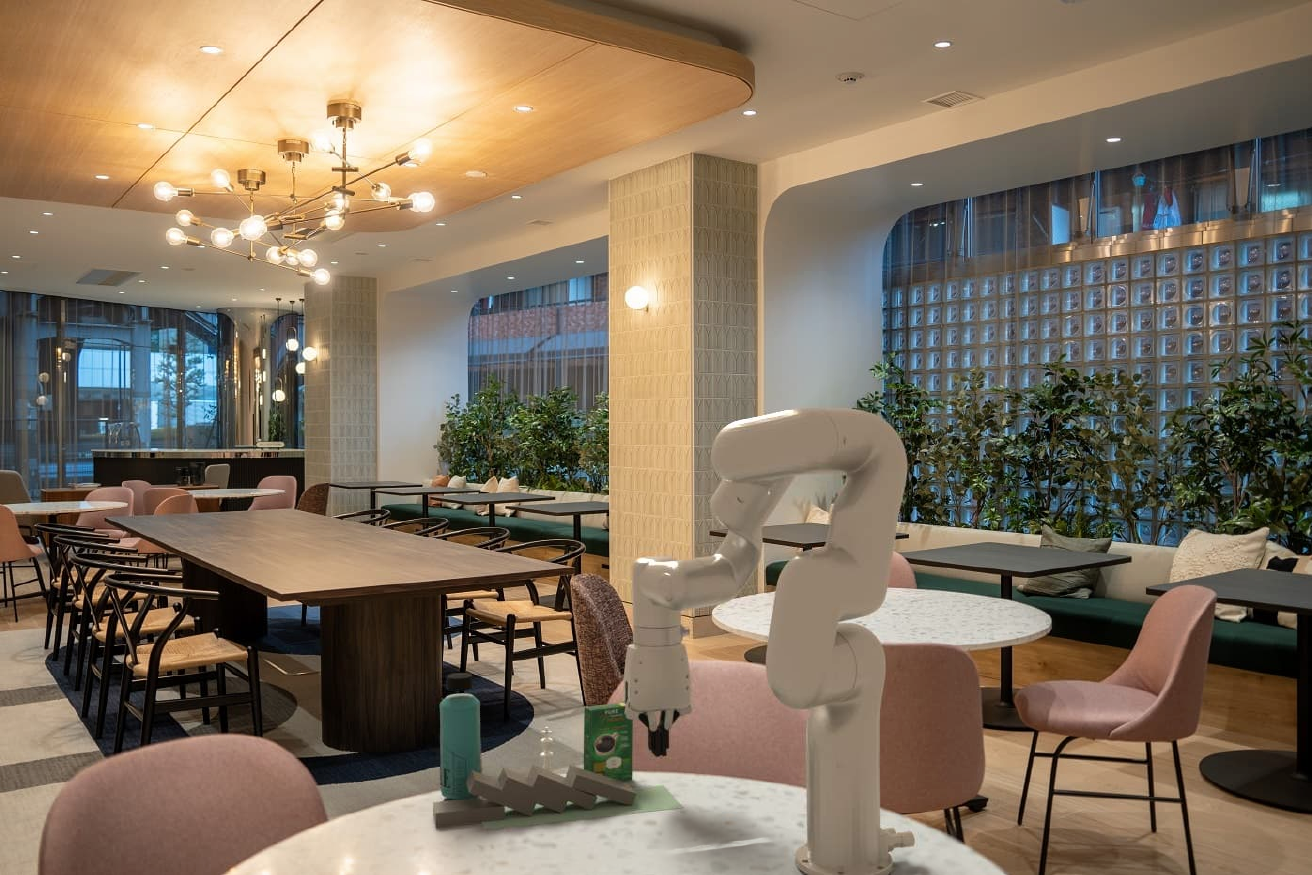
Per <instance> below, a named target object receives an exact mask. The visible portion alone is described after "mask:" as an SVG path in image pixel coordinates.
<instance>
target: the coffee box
mask: <svg viewBox="0 0 1312 875" xmlns="http://www.w3.org/2000/svg"><path fill="white" fill-rule="evenodd" d="M625 707H626V704H625V703H624V701H623V702H616V703H609V704H600V705H590V706H589V705H588V706H584V708H583V709H584V711H583V712H584V714H583V716H584V717H583V719H584V720H583V721H584V724H583V769H584V770H587V771H591V772H594V773H597V774H600V775H603V776H606V777H610V778H613V779H616V780H619V781H622V782H625V783H627V782H631V781H633V775H634V774H633V773H634V772H633V750H634V748H633V745H634V744H633V743H634V742H633V741H634V740H633V738H634V720H631V719H627V718H626V717H625V716H624V712H625Z"/></svg>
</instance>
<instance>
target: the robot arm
mask: <svg viewBox="0 0 1312 875" xmlns="http://www.w3.org/2000/svg"><path fill="white" fill-rule="evenodd" d="M711 447H712V448H711V452H710V458H711V459H710V460H711V463H712V468H713V470H714V472H715V473H716V474H717V475H718V476H719V478H721V479H722V481H720V482H719V484H718V486H717V488H716V489H715V491H714V493H713V494H712V495H711V497H710V502H709V507H710V511H711V514H712V515H713V516H714V518H715V519H716V521H717V522H718V523H719V524H721V525H722V526H723V528H725V529H726V530H728V532H727V533H726V536H725V538H724V539H723V540H722V543H721V544H720V546H719V547H718V549H717V550H716V552H715V553H714V554H713V555H711V556H700V557H693V558H687V559H676V558H674V557H671V556H662V555H660V556H659V555H656V556H655V555H653V556H652V555H651V556H643V557H642V556H641V557H638V558H636V559H635V560H634V562H633V565H632V572H631V577H632V579H631V580H632V639H633V640H632V643H631V644H628V645H627V650H626V656H625V662H624V663H625V664H624V673H623V674H624V675H623V690H622V694H623V695H622V696H623V702H624V703H625V704H626V707H625V712H624V716H625V717H626V718H627V719H631V720H633V721H638V722H641V723H642V724H643V725H644V726H645V727H647V747H648V751H650V753H652V755H654V756H655V758H659V757H661V756H662V757H667V750H668V749H669V748H670V731H671V729H672V727H673V724H675V723H676V721H677V720H678V719H679V718H680V717H685V716H687V715H689V714H691V713H692V711H693V710H692V709H693V708H692V705H691V703H692V681H691V671H690V663H689V657H688V652H687V647H686V644H685V642H683V638H684V637H687V636H690V633H691V629H690V627H689V626H684V625H683V624H682V615H681V614H682V611H689V610H696V609H700V608H705V607H711V606H718V605H719V606H720V605H724V604H726V603H728V602H730V601H732V600H733V599H735V598H736V597H737V596H738V595H739V594H740V592H742V590H743V589H744V588H745V586H746V585H747V583H748V582H749V580H750V579H751V577H752V576H753V574H754V573H755V571H756V570H757V569H758V566H759V563H760V561H761V557H762V552H763V533H762V529H763V527H764V525H765V524H766V522H767V521H768V519H769V518H770V516H771V515H772V513H773V512H774V510H775V508H776V507H777V505H778V504H779V503H780V501H781V500H782V498H783V496H784V495H785V493H786V492H787V491H788V489H789V487H790V486H791V484H792V483H793V481H794V480H795V478H796V477H797V476H805V475H824V474H828V475H829V474H844V475H845V478H846V479H845V482H844V484H843V486H842V487H841V489H840V491H839V492H838V494H837V495H836V496H837V497H836V499H835V500H834V503H833V505H832V510H831V513H830V520H829V529H828V531H827V532H828V533H827V538H826V542H825V544H824V546H822V547H820V548H812V549H807V550H804V551H801V552H799V553H797V554H795V555H794V556H792V558H791V559H790V560H788V562H787V563H786V564H785V566H783V569H782V570H781V572H780V574H779V577H778V580H777V582H776V587H775V592H774V599H773V604H772V605H773V606H772V611H771V612H772V613H771V618H770V619H771V620H770V626H769V632H768V640H767V647H766V656H765V672H766V675H765V676H766V680H767V683H768V686H769V688H770V691H771V693H772V694H773V696H774V697H775V699H776V700H777V701H778V702H779V703H780V704H782V705H784V706H786V707H788V708H789V709H795V710H808V715H807V722H806V729H805V730H806V733H805V735H806V736H805V739H806V740H805V758H806V759H805V764H806V765H805V767H806V768H805V769H806V771H805V772H806V773H805V774H806V777H805V778H806V782H805V783H806V843H804V844H803V845H801V846H800V847H798V849H797V850H796V851H795V857H794V858H795V865H796V866H797V868H798V869H799V870H800V871H802V873H804V874H806V875H889V874H891V873H892V871H893V868H894V864H893V863H894V860H893V857H892V855H891V854H890V853H889V852H893V851H894V849H896V848H903V849H904V848H911V847H913V846H915V842H916V840H915V835H914V833H913V832H912V831H911V830H908V831H899V832H896V829H895V828H894V827H888V828H881V787H880V786H881V785H880V784H881V782H880V780H881V779H880V778H881V777H880V774H881V773H880V767H881V766H880V748H881V747H880V745H881V744H880V722H881V721H880V720H881V717H880V716H881V704H882V697H883V691H884V686H885V680H886V671H887V670H886V669H887V668H886V667H887V666H886V655H885V651H884V646H883V645H882V643H881V641H880V640H879V637H877V636H876V635H875V633H874V632H872V631H871V630H870V629H868V628H867V627H865V626H863V625H860V624H857V623H854V622H853V623H852V622H846V621H849V620H850V621H851V620H854V619H859V618H862V617H866V616H869V615H871V614H873V613H875V612H877V611H878V610H879V609H880V608H881V606H882V605H883V603H884V601H885V600H886V596H887V591H888V586H889V580H890V575H891V574H890V573H891V567H892V560H893V555H894V550H895V549H894V548H895V544H896V543H895V541H896V536H897V535H896V534H897V526H898V520H899V514H900V510H901V505H902V502H903V497H904V493H905V487H906V483H907V482H906V481H907V476H908V456H907V454H906V453H907V452H906V449H905V445H904V444H903V440H902V439H901V437H900V435H899V433H898V432H897V430H895V428H894V427H893V426H892V425H891V424H890V423H889V422H887V421H886V420H885V419H883V417H880V416H879V415H877V414H875V413H872V412H869V411H865V410H861V409H856V408H855V409H854V408H839V407H838V408H834V407H833V408H827V407H825V408H823V407H800V408H799V407H798V408H792V409H791V408H790V409H787V410H782V411H778V412H773V413H770V414H769V413H768V414H764V415H760V416H755V417H751V418H749V417H748V418H745V419H740V420H736V421H733V422H731V423H729V424H727V425H725V427H723V428H722V429H721V430H720V431H719V432H718V433H717V435H716V436H715V439H714V440H713V444H712V446H711ZM656 712H660V713H659V723H658V722H657V716H656Z"/></svg>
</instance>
